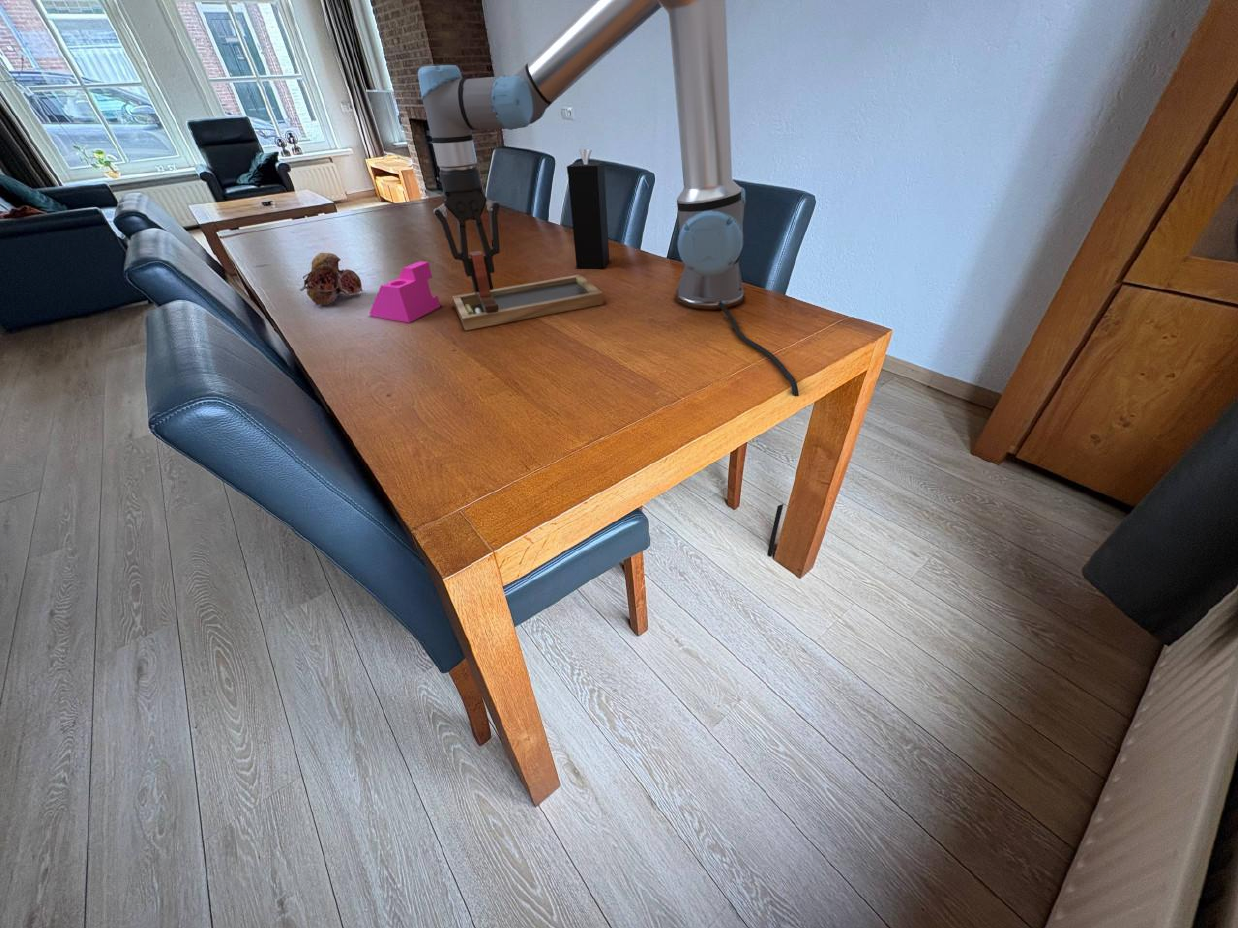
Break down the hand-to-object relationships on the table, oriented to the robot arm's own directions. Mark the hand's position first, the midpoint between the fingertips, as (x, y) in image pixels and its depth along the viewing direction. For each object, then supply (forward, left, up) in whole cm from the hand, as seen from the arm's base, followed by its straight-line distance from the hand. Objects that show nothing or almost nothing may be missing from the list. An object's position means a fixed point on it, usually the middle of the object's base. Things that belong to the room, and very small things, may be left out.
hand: (483, 289), depth 110 cm
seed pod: (+29, +33, -6) cm, 45 cm away
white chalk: (-2, +2, -5) cm, 6 cm away
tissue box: (+23, -34, -6) cm, 42 cm away
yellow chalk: (+1, +4, -5) cm, 6 cm away
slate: (0, -9, -6) cm, 11 cm away
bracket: (+11, +18, -6) cm, 21 cm away
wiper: (0, 0, -4) cm, 4 cm away
